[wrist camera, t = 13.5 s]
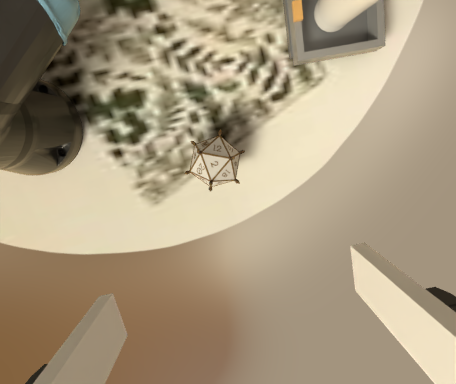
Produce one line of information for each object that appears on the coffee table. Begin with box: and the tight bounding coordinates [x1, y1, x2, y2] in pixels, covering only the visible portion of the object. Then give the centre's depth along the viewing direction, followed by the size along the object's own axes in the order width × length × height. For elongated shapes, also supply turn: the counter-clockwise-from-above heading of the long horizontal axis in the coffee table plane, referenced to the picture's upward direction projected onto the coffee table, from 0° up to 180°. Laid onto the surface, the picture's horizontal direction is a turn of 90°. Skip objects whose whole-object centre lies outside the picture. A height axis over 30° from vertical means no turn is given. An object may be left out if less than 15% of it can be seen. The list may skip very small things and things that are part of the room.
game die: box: [184, 130, 245, 191], centre depth 40 cm, size 9×8×10 cm
